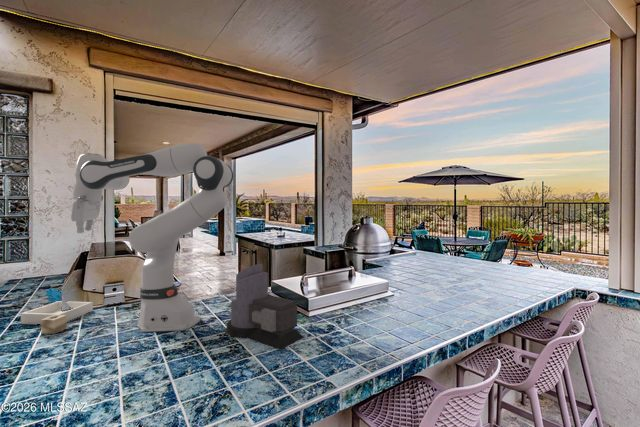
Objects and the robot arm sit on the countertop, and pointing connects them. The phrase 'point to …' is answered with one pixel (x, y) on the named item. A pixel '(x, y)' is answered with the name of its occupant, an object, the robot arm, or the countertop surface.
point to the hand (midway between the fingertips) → (84, 231)
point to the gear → (53, 295)
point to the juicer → (261, 311)
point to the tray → (56, 311)
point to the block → (53, 324)
